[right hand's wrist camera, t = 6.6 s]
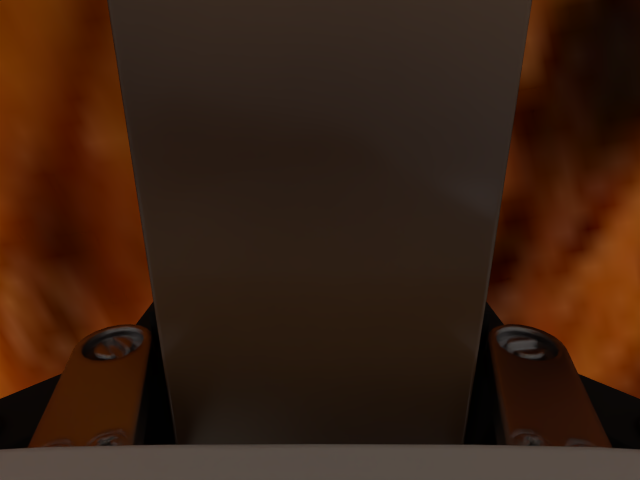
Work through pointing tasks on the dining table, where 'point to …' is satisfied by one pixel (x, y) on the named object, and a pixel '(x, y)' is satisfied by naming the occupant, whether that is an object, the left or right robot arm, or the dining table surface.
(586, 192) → the dining table surface
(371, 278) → the bar
